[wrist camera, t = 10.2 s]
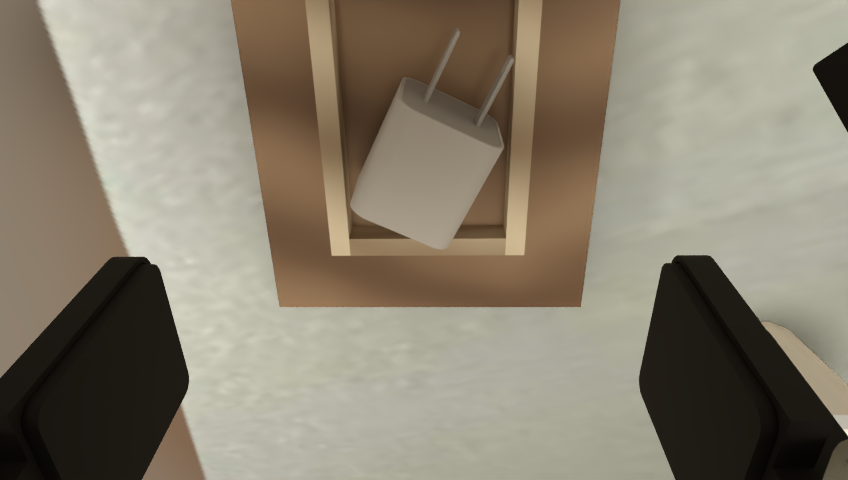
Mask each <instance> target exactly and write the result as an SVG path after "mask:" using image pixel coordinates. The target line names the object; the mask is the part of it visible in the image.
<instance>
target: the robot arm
mask: <svg viewBox="0 0 848 480" xmlns="http://www.w3.org/2000/svg"><path fill="white" fill-rule="evenodd" d="M188 384H189V374H188V370H187V366H186V362H185V359H184V355H183V352H182V348H181V344H180V341H179V337H178V334H177V330H176V326H175V323H174V319H173V315H172V312H171V308H170V305H169V301H168V297H167V294H166V290H165V286H164V283H163V279H162V276H161V272H160V270H159V268H158V266H157V265H155V264H151V263H150V261H149V260H148V259H147V258H145V257H113V258H111V259H109V260H108V261H107V262H106V263H105V264H104V266H103V267H102V268H101V269H100V270H99V271H98V272H97V273H96V274H95V275H94V276H93V278H92V279H91V280H90V281H89V282H88V283H87V284H86V285H85V286H84V287H83V288H82V290H81V291H80V292H79V293H78V294H77V295H76V296H75V297H74V298H73V299H72V301H71V302H70V303H69V304H68V305H67V306H66V307H65V308H64V309H63V310H62V312H61V313H60V314H59V315H58V316H57V317H56V318H55V319H54V320H53V321H52V322H51V323H50V325H49V326H48V327H47V328H46V329H45V330H44V331H43V332H42V333H41V334H40V336H39V337H38V338H37V339H36V340H35V341H34V342H33V343H32V344H31V345H30V346H29V347H28V349H27V350H26V351H25V352H24V353H23V354H22V355H21V356H20V357H19V358H18V359H17V361H16V362H15V363H14V364H13V365H12V366H11V367H10V368H9V369H8V370H7V372H6V373H5V374H4V375H3V376H2V377H1V378H0V480H142V478H143V476H144V474H145V472H146V470H147V468H148V466H149V465H150V463H151V461H152V459H153V457H154V455H155V453H156V451H157V449H158V447H159V445H160V443H161V441H162V439H163V437H164V435H165V433H166V431H167V429H168V428H169V425H170V424H171V422H172V419H173V418H174V416H175V414H176V412H177V410H178V408H179V406H180V404H181V402H182V400H183V398H184V396H185V394H186V392H187V389H188ZM639 386H640V392H641V395H642V398H643V400H644V403H645V405H646V408H647V410H648V413H649V415H650V418H651V420H652V422H653V425H654V427H655V430H656V432H657V435H658V437H659V440H660V442H661V445H662V447H663V450H664V452H665V455H666V457H667V460H668V462H669V465H670V467H671V470H672V472H673V475H674V477H675V480H848V435H847V434H846V433H845V431H844V430H843V429H842V427H841V426H840V425H839V423H838V422H837V421H836V419H835V418H834V417H833V415H832V414H831V413H830V411H829V410H828V409H827V407H826V406H825V405H824V403H823V402H822V401H821V400H820V398H819V397H818V396H817V394H816V393H815V392H814V390H813V389H812V388H811V386H810V385H809V384H808V382H807V381H806V380H805V378H804V377H803V376H802V374H801V373H800V372H799V370H798V369H797V368H796V366H795V365H794V364H793V362H792V361H791V360H790V358H789V357H788V356H787V354H786V353H785V352H784V351H783V349H782V348H781V347H780V345H779V344H778V343H777V341H776V340H775V339H774V337H773V336H772V335H771V334H770V333H769V332H768V331H767V330H766V329H765V327H764V326H763V325H762V323H761V322H760V321H759V319H758V318H757V317H756V315H755V314H754V313H753V311H752V310H751V309H750V307H749V306H748V305H747V303H746V302H745V301H744V299H743V298H742V297H741V295H740V294H739V293H738V291H737V290H736V289H735V287H734V286H733V285H732V283H731V282H730V281H729V279H728V278H727V277H726V275H725V274H724V273H723V271H722V270H721V269H720V267H719V266H718V265H717V263H716V262H715V261H714V259H713V258H712V257H711V256H707V255H677V256H676V257H674V259H673V260H672V263H666V264H664V265H663V267H662V270H661V274H660V279H659V284H658V289H657V293H656V298H655V303H654V308H653V313H652V317H651V322H650V327H649V332H648V336H647V341H646V346H645V351H644V356H643V360H642V365H641V370H640V376H639Z"/></svg>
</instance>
